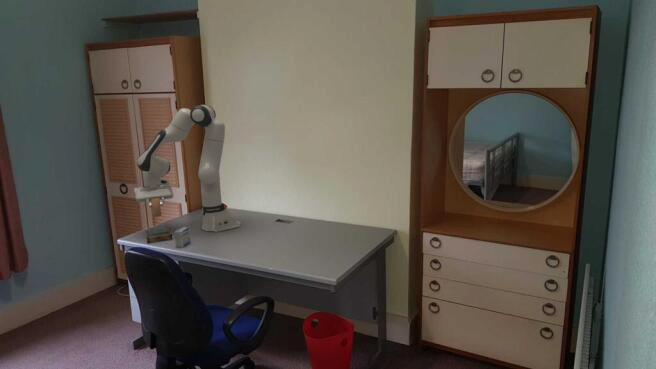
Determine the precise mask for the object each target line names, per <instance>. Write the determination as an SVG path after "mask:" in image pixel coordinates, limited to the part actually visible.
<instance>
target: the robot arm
mask: <svg viewBox="0 0 656 369" xmlns="http://www.w3.org/2000/svg"><path fill="white" fill-rule="evenodd" d="M195 124H196V125H197V126H199V127H201V128H204V132H205V133H204V137H203V138H204V139H203V145H202V151H201V154H200V162H199V167H198V172H197V173H198V174H197V175H198V178H199V180H200V194H201V195H200V196H201V203H202V205H201V213H202V226H201V227H202V228H201V229H202V230H203V231H206V232H214V233H217V232H222V231H227V230H231V229H236V228H239V227H241V226H242V223H241V221H240V220H238V219H237V216H236V215H235V214H234V213H233V212H232V211H230V210H228V209H227V208H228V205H227V204H225V203H223V202H222V192H221V191H222V190H221V176H220V167H221V162H222V155H223V148H224V143H225V136H226V125H225V123H224V122H223V121H221V120H218V119H216V110H215V109H214V108H213V107H212V106H210V105H206V104H200V105H199V104H198V105H195V106H194V107H192V108H191V109H189V108H186V107H185V108H184V107H183V108H180V109H179V110H178V111H177V112H176V114H175V115H174V116H173V118H172V120H171V122H170V123H169V125H168V126H167V127H166V128H164V129H161V130H160V131H159V132H158V133H157V134H156V135H155V137H154V138H153V139H152V141H150V143H149V145H148V146H147V147H146V148H145V150H144V151H143V152H142V153H141V154H140V155H139V157H138V158H137V161H136V166H137V167H138V169H139V171H141V172H142V176H143V179H144V181H143V182H144V186H138V187H135V188H134V190H133V194H135V202H136V203H144V202H146V204H147V205H148V208H152V204H151V199H152V198H159V199H160V207H162V206H164V201H165V200H169V199H173V197H174V192H173V189H172V186H171V185H170V182H169V181H168V180H165V179H161V178H163V177H165V176H166V175H168V174H169V173H170V171H171V163H170V161H169V160H168V159H167V158H163V157H159V156H155V154H156V153H157V152H158V151H159V149H160V148H161V146H162V145H164V144H169V143H179V142H182V141H185V139H186V138H187V137H188V135H189V133H190V131H191V130H192V127H193V126H194V125H195Z"/></svg>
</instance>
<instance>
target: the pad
mask: <svg viewBox="0 0 656 369" xmlns="http://www.w3.org/2000/svg"><path fill="white" fill-rule="evenodd" d="M167 233H168V230H167V226H166V227H165V226H164V227H159V228H153V234H154V235H155V236H156V235H161V234H167Z"/></svg>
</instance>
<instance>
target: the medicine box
mask: <svg viewBox="0 0 656 369" xmlns="http://www.w3.org/2000/svg"><path fill="white" fill-rule="evenodd" d="M173 234H174V242H175V248H185V247H186V246H187V245H188V244H190V243H191V236H190V228H189V226H188V227H186V226H184V227H180V228H178V229H177V230H175V231H174V232H173Z"/></svg>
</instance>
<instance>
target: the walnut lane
mask: <svg viewBox="0 0 656 369" xmlns="http://www.w3.org/2000/svg"><path fill="white" fill-rule="evenodd" d="M145 232H146V233H145V234H146V241H147V244H152V243H158V242H159V243H160V242H166V241H171V240H173V233H172V230H171V227H168V234H167V233H166V234H162V235H161V234H160V235H157V236H156V235H155V236H149V234H150V233H149V230H146V231H145Z"/></svg>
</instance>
